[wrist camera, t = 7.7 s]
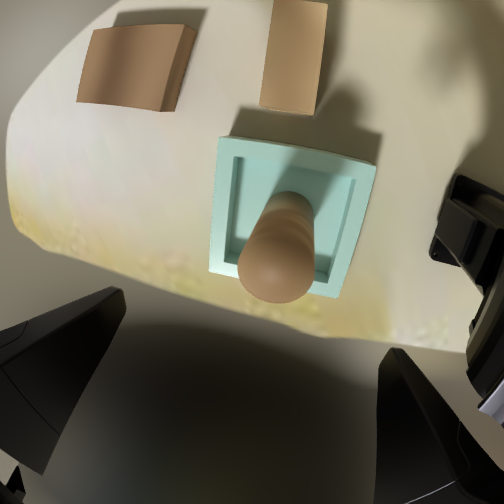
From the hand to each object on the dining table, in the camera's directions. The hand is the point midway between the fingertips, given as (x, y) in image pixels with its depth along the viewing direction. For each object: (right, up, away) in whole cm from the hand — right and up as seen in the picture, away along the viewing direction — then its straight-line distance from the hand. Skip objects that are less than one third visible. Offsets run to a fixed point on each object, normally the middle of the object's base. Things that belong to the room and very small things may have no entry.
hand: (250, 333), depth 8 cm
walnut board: (-8, +16, +7) cm, 19 cm away
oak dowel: (+2, +5, +9) cm, 11 cm away
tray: (+2, +5, +10) cm, 11 cm away
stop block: (+3, +13, +5) cm, 15 cm away
